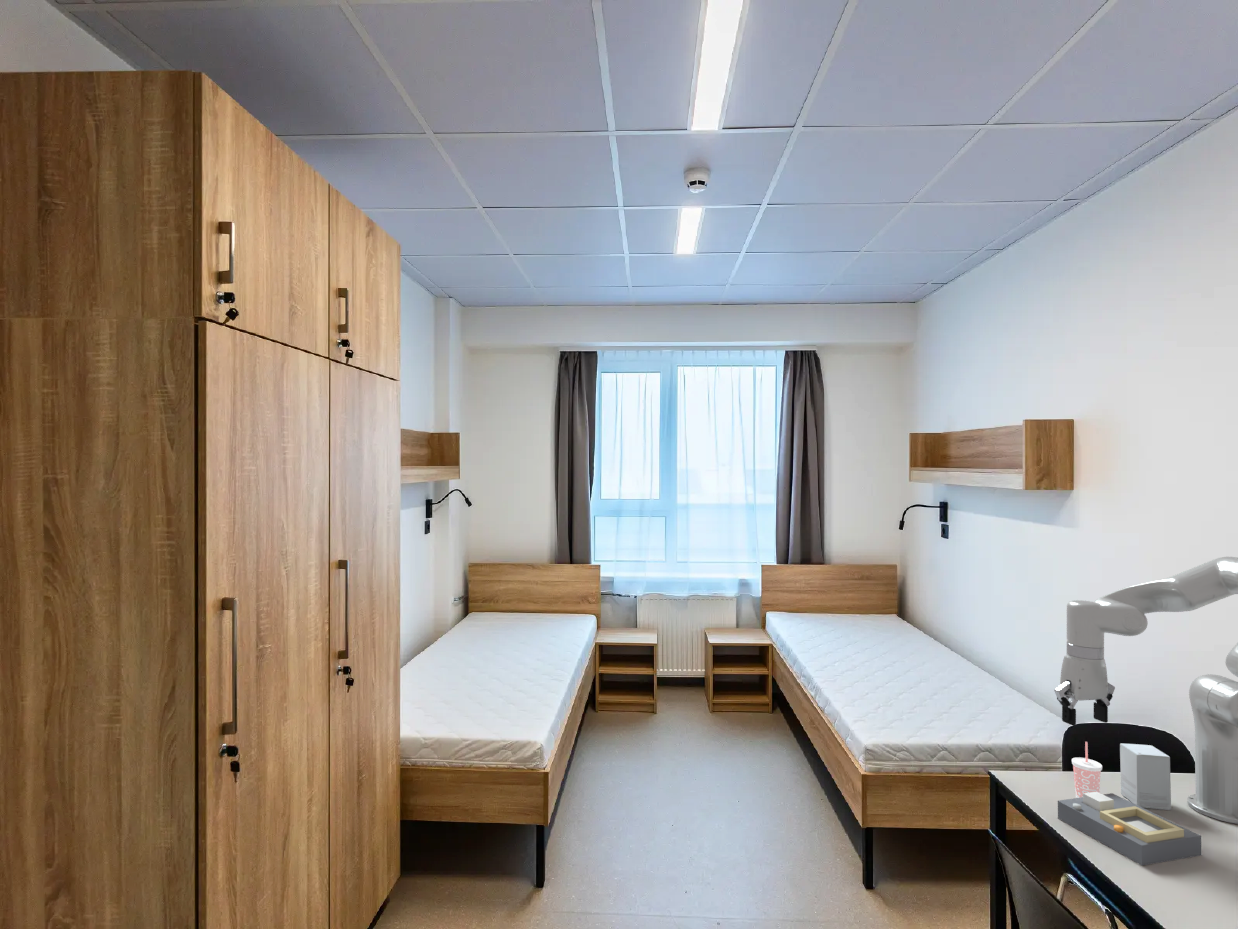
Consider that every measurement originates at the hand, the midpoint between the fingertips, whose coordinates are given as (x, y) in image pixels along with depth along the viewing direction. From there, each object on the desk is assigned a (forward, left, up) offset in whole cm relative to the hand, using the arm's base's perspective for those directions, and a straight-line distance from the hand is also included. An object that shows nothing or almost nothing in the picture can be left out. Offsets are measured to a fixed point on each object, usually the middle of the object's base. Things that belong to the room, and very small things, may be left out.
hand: (1084, 722), depth 159 cm
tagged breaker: (+8, +19, -19) cm, 28 cm away
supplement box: (-13, +4, -19) cm, 24 cm away
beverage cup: (0, 0, -19) cm, 19 cm away
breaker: (+8, +10, -17) cm, 21 cm away
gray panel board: (+7, +14, -19) cm, 24 cm away
